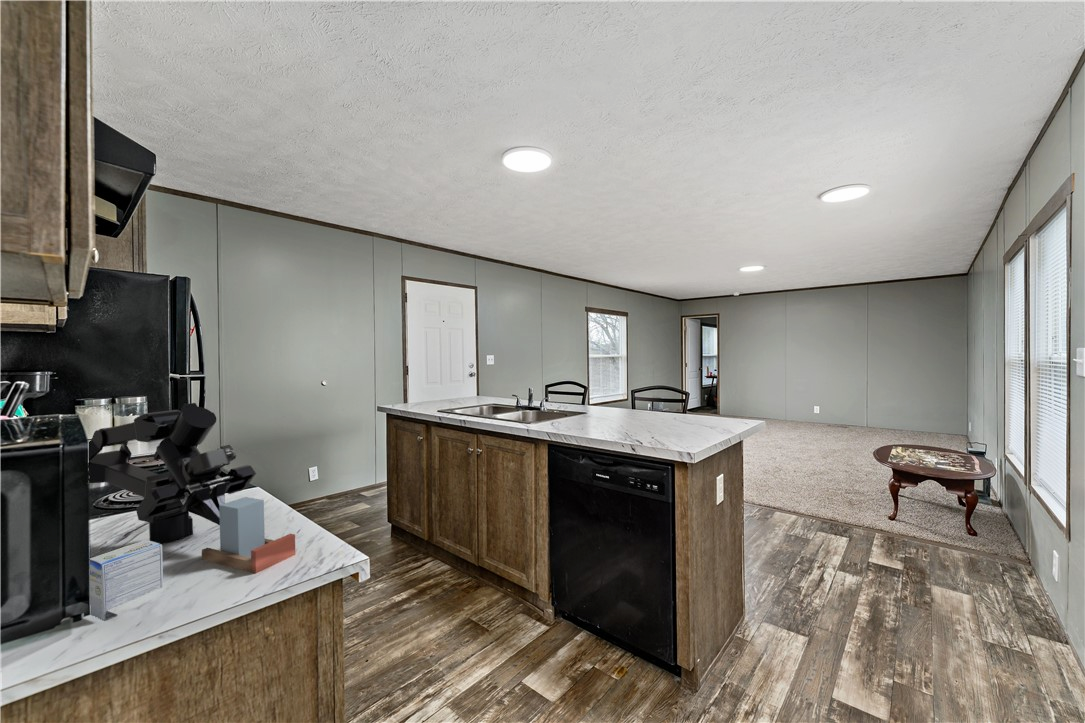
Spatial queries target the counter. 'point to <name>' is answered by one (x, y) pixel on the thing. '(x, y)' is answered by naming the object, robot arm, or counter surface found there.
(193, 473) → the robot arm
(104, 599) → the medicine box
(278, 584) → the counter surface
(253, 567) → the key housing
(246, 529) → the slate key
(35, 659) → the counter surface
